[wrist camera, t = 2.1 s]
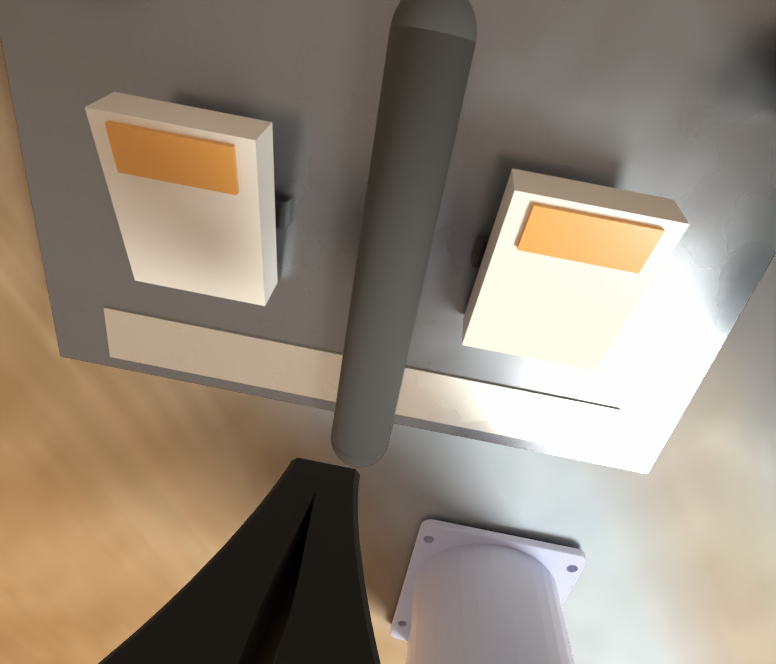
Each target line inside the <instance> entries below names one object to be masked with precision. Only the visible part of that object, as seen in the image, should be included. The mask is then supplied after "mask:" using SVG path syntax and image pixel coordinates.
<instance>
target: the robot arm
mask: <svg viewBox="0 0 776 664" xmlns="http://www.w3.org/2000/svg"><path fill="white" fill-rule="evenodd" d="M359 478H360V474H359V473H358V472H357V470H356V469H351V468H346V467H341V466H336V465H331V464H326V463H321V462H316V461H311V460H306V459H301V458H296V459H294V460H293V461H291V463H290V464H289V466H288V467H287V469H286V470H285V472H284V473H283V475H282V476H281V478H280V479H279V480H278V482H277V483H276V484H275V486H274V487H273V488H272V490H271V491H270V492H269V494H268V495H267V496H266V497H265V499H264V500H263V501H262V502H261V504H260V505H259V506H258V507H257V508H256V510H255V511H254V512H253V513H252V514H251V515H250V517H249V518H248V519H247V520H246V521H245V522H244V524H243V525H242V526H241V527H240V528H239V529H238V530H237V532H236V533H235V534H234V535H233V536H232V537H231V539H230V540H229V541H228V542H227V543H226V544H225V545H224V546H223V547H222V548H221V549H220V550H219V551H218V552H217V553H216V555H215V556H214V557H213V558H212V559H211V560H210V561H209V562H208V563H207V564H206V565H205V566H204V567H203V568H202V569H201V570H200V571H199V572H198V573H197V574H196V575H195V576H194V577H193V578H192V579H191V580H190V581H189V582H188V583H187V584H186V585H185V586H184V587H183V588H182V589H181V590H180V591H179V592H178V593H177V594H176V595H175V596H174V597H173V598H172V599H171V600H170V601H169V602H168V603H167V604H166V605H164V606H163V607H162V608H161V609H160V610H159V611H158V612H157V613H156V614H155V615H154V616H153V617H151V618H150V619H149V620H148V621H147V622H146V623H145V624H144V625H143V626H142V627H140V628H139V629H138V630H137V631H136V632H135V633H134V634H133V635H131V636H130V637H129V638H128V639H127V640H125V641H124V642H123V643H122V644H121V645H120V646H118V647H117V648H116V649H115V650H114V651H113V652H111V653H110V654H109V655H108V656H107V657H106V658H104V659H103V660H102V661H101V662H100V663H98V664H381V663H380V659H379V655H378V651H377V646H376V641H375V637H374V632H373V627H372V622H371V616H370V611H369V605H368V600H367V594H366V588H365V582H364V575H363V567H362V558H361V550H360V541H359V529H358V484H359ZM586 561H587V560H586V557H585V554H584V552H583V551H582V550H580V549H577V548H572V547H567V546H562V545H557V544H552V543H547V542H542V541H537V540H532V539H527V538H522V537H517V536H513V535H508V534H503V533H498V532H493V531H488V530H483V529H478V528H473V527H468V526H463V525H458V524H453V523H448V522H443V521H439V520H434V519H428V520H425V521H423V522H422V523H421V525H420V529H419V532H418V536H417V539H416V542H415V546H414V549H413V553H412V556H411V559H410V563H409V566H408V570H407V573H406V577H405V580H404V583H403V587H402V590H401V594H400V597H399V601H398V604H397V607H396V611H395V614H394V618H393V621H392V625H391V635H392V636H393V637H395V638H397V639H402V640H407V641H408V643H407V659H406V664H574V660H573V655H572V651H571V646H570V642H569V638H568V633H567V629H566V624H565V620H564V616H563V611H562V605H563V603H564V601H565V599H566V598H567V596H568V594H569V592H570V591H571V589H572V587H573V585H574V584H575V582H576V580H577V578H578V576H579V575H580V573H581V571H582V569H583V568H584V566H585V564H586Z"/></svg>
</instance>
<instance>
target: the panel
mask: <svg viewBox="0 0 776 664" xmlns="http://www.w3.org/2000/svg"><path fill="white" fill-rule="evenodd" d="M400 1H401V0H0V38H1V43H2V48H3V54H4V59H5V64H6V70H7V75H8V80H9V86H10V91H11V96H12V101H13V107H14V112H15V117H16V123H17V128H18V133H19V139H20V144H21V149H22V155H23V160H24V165H25V170H26V176H27V181H28V186H29V192H30V197H31V202H32V208H33V213H34V218H35V224H36V229H37V234H38V239H39V245H40V250H41V255H42V261H43V266H44V271H45V277H46V282H47V287H48V293H49V298H50V303H51V309H52V314H53V319H54V324H55V330H56V335H57V340H58V346H59V351H60V356H61V357H66V358H71V359H76V360H81V361H86V362H91V363H96V364H101V365H106V366H111V367H116V368H121V369H126V370H131V371H136V372H141V373H146V374H151V375H156V376H161V377H166V378H171V379H176V380H181V381H186V382H191V383H196V384H201V385H206V386H211V387H216V388H221V389H226V390H231V391H236V392H241V393H246V394H251V395H256V396H261V397H266V398H271V399H276V400H281V401H286V402H291V403H296V404H301V405H306V406H311V407H316V408H321V409H326V410H331V411H335V406H336V399H337V392H338V385H339V378H340V371H341V364H342V357H343V350H344V343H345V336H346V329H347V323H348V316H349V309H350V302H351V295H352V288H353V281H354V274H355V267H356V260H357V253H358V246H359V239H360V232H361V225H362V219H363V212H364V205H365V198H366V191H367V184H368V177H369V170H370V163H371V156H372V149H373V142H374V135H375V128H376V121H377V114H378V108H379V101H380V94H381V87H382V80H383V73H384V66H385V59H386V52H387V45H388V38H389V31H390V26H391V21H392V17H393V14H394V12H395V10H396V7H397V6H398V4H399V3H400ZM469 2H470V3H471V5H472V8H473V10H474V13H475V17H476V22H477V38H476V45H475V49H474V54H473V59H472V63H471V68H470V72H469V77H468V82H467V86H466V91H465V95H464V100H463V104H462V109H461V114H460V118H459V123H458V127H457V132H456V136H455V141H454V146H453V150H452V155H451V159H450V164H449V169H448V173H447V178H446V182H445V187H444V191H443V196H442V201H441V205H440V210H439V214H438V219H437V223H436V228H435V233H434V237H433V242H432V246H431V251H430V256H429V260H428V265H427V269H426V274H425V278H424V283H423V288H422V292H421V297H420V301H419V306H418V310H417V315H416V320H415V324H414V329H413V333H412V338H411V343H410V347H409V352H408V356H407V361H406V365H405V370H404V375H403V379H402V384H401V388H400V393H399V398H398V402H397V407H396V411H395V416H394V420H393V423H396V424H401V425H406V426H411V427H416V428H421V429H426V430H431V431H436V432H441V433H446V434H451V435H456V436H461V437H466V438H471V439H476V440H481V441H486V442H491V443H495V444H500V445H505V446H510V447H515V448H520V449H525V450H530V451H535V452H540V453H545V454H550V455H555V456H560V457H565V458H570V459H575V460H580V461H585V462H590V463H595V464H600V465H605V466H610V467H615V468H620V469H625V470H630V471H635V472H640V473H645V474H648V472H649V470H650V469H651V467H652V465H653V463H654V462H655V460H656V458H657V457H658V455H659V453H660V451H661V450H662V448H663V446H664V445H665V443H666V441H667V439H668V438H669V436H670V434H671V432H672V431H673V429H674V427H675V426H676V424H677V422H678V420H679V419H680V417H681V415H682V414H683V412H684V410H685V408H686V407H687V405H688V403H689V401H690V400H691V398H692V396H693V395H694V393H695V391H696V389H697V388H698V386H699V384H700V383H701V381H702V379H703V377H704V376H705V374H706V372H707V371H708V369H709V367H710V365H711V364H712V362H713V360H714V358H715V357H716V355H717V353H718V352H719V350H720V348H721V346H722V345H723V343H724V341H725V340H726V338H727V336H728V334H729V333H730V331H731V329H732V327H733V326H734V324H735V322H736V321H737V319H738V317H739V315H740V314H741V312H742V310H743V309H744V307H745V305H746V303H747V302H748V300H749V298H750V296H751V295H752V293H753V291H754V290H755V288H756V286H757V284H758V283H759V281H760V279H761V278H762V276H763V274H764V272H765V271H766V269H767V267H768V265H769V264H770V262H771V260H772V259H773V257H774V255H775V253H776V0H469ZM113 92H118V93H123V94H129V95H134V96H139V97H144V98H149V99H155V100H160V101H165V102H170V103H175V104H181V105H186V106H191V107H196V108H201V109H206V110H212V111H217V112H222V113H227V114H232V115H238V116H243V117H248V118H253V119H258V120H264V121H269V122H272V129H273V160H274V190H275V221H276V252H277V284H276V286H275V288H274V290H273V292H272V294H271V296H270V298H269V300H268V301H267V303H266V305H265V306H261V305H256V304H251V303H246V302H241V301H236V300H231V299H226V298H221V297H216V296H211V295H206V294H201V293H196V292H191V291H186V290H181V289H175V288H170V287H165V286H160V285H155V284H150V283H145V282H140V281H135V279H134V275H133V272H132V269H131V265H130V262H129V258H128V255H127V251H126V248H125V244H124V241H123V238H122V234H121V231H120V227H119V224H118V220H117V217H116V214H115V210H114V207H113V203H112V200H111V196H110V193H109V189H108V186H107V183H106V179H105V176H104V172H103V169H102V165H101V162H100V158H99V155H98V152H97V148H96V145H95V141H94V138H93V134H92V131H91V127H90V124H89V121H88V117H87V114H86V110H85V107H86V106H88V105H90V104H92V103H94V102H96V101H98V100H100V99H101V98H103V97H105V96H107V95H109V94H111V93H113ZM512 168H513V169H518V170H523V171H529V172H534V173H539V174H544V175H549V176H554V177H560V178H565V179H570V180H575V181H580V182H586V183H591V184H596V185H601V186H606V187H612V188H617V189H622V190H627V191H632V192H638V193H643V194H648V195H653V196H658V197H664V198H669V199H674V201H675V202H676V204H677V205H678V207H679V208H680V210H681V211H682V213H683V215H684V216H685V218H686V219H687V221H688V222H689V226H688V228H687V229H686V231H685V232H684V234H683V235H682V237H681V238H680V240H679V241H678V243H677V245H676V246H675V248H674V249H673V251H672V252H671V254H670V255H669V257H668V258H667V260H666V261H665V263H664V265H663V266H662V268H661V269H660V271H659V272H658V274H657V275H656V277H655V278H654V280H653V282H652V283H651V285H650V286H649V288H648V289H647V291H646V292H645V294H644V295H643V297H642V298H641V300H640V302H639V303H638V305H637V306H636V308H635V309H634V311H633V312H632V314H631V315H630V317H629V319H628V320H627V322H626V323H625V325H624V326H623V328H622V329H621V331H620V332H619V334H618V336H617V337H616V339H615V340H614V342H613V343H612V345H611V346H610V348H609V349H608V351H607V352H606V354H605V356H604V357H603V359H602V360H601V362H600V363H599V365H598V366H597V368H596V369H595V371H590V370H585V369H580V368H575V367H570V366H565V365H560V364H555V363H550V362H545V361H540V360H535V359H530V358H524V357H519V356H514V355H509V354H504V353H499V352H494V351H489V350H484V349H479V348H474V347H469V346H464V345H462V329H463V317H464V314H465V311H466V308H467V305H468V302H469V299H470V296H471V293H472V290H473V287H474V284H475V281H476V277H477V274H478V271H479V268H480V265H481V262H482V259H483V256H484V253H485V250H486V247H487V244H488V241H489V238H490V235H491V232H492V228H493V225H494V222H495V219H496V216H497V213H498V210H499V207H500V204H501V201H502V198H503V195H504V192H505V189H506V186H507V183H508V179H509V176H510V173H511V170H512Z"/></svg>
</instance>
